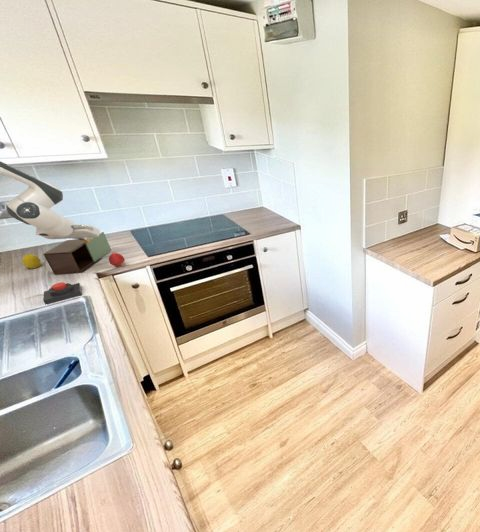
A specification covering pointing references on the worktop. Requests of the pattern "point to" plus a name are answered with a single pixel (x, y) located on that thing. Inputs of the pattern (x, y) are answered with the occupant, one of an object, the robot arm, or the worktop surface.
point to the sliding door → (97, 246)
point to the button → (59, 286)
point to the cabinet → (69, 257)
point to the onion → (116, 259)
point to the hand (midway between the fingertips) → (83, 238)
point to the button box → (62, 293)
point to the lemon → (31, 261)
